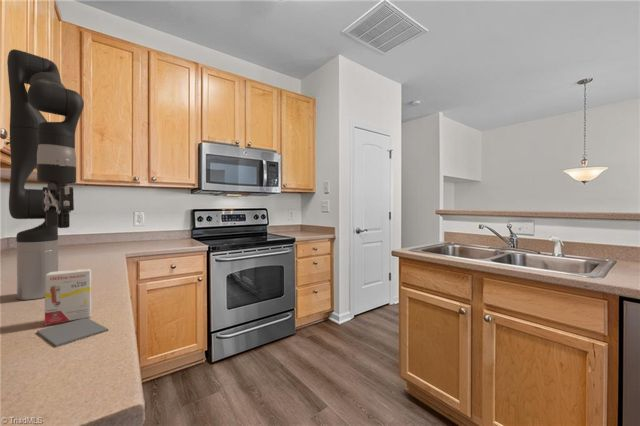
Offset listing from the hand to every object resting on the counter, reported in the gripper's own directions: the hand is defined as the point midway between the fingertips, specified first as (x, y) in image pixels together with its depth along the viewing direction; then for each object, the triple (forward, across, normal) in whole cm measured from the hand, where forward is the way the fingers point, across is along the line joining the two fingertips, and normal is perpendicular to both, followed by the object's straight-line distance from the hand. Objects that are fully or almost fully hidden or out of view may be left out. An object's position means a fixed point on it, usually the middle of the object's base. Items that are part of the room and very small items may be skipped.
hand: (57, 226), depth 74 cm
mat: (+22, +17, -2) cm, 28 cm away
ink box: (+23, +8, 0) cm, 24 cm away
